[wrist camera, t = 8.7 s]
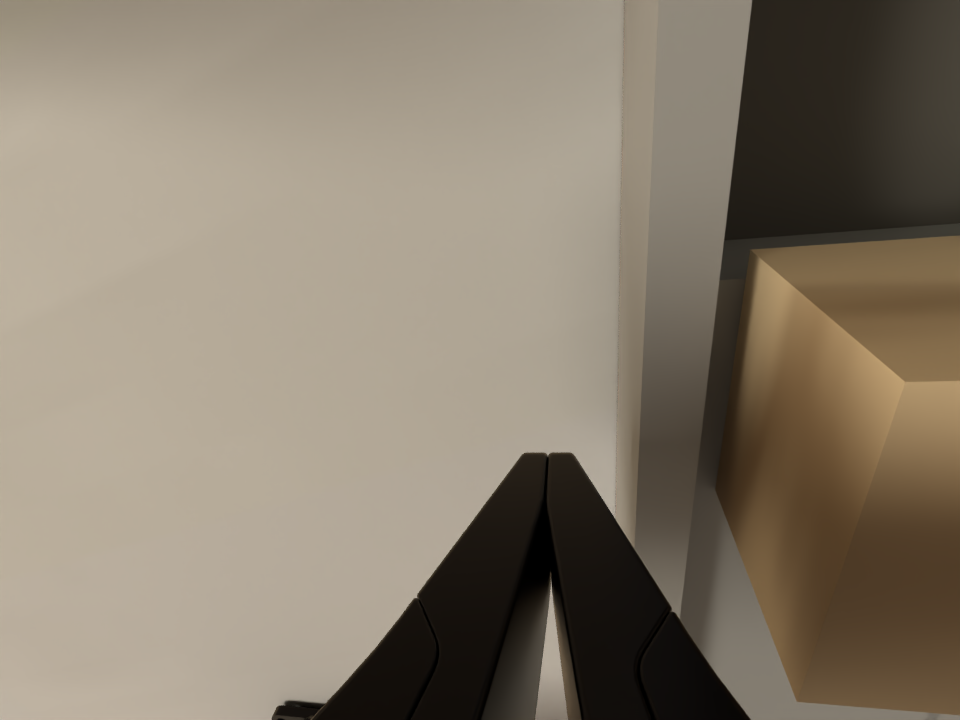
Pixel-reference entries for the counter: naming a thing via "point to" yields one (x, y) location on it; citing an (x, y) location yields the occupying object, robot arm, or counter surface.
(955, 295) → the block
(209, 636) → the counter surface
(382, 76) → the counter surface
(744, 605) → the trap board
